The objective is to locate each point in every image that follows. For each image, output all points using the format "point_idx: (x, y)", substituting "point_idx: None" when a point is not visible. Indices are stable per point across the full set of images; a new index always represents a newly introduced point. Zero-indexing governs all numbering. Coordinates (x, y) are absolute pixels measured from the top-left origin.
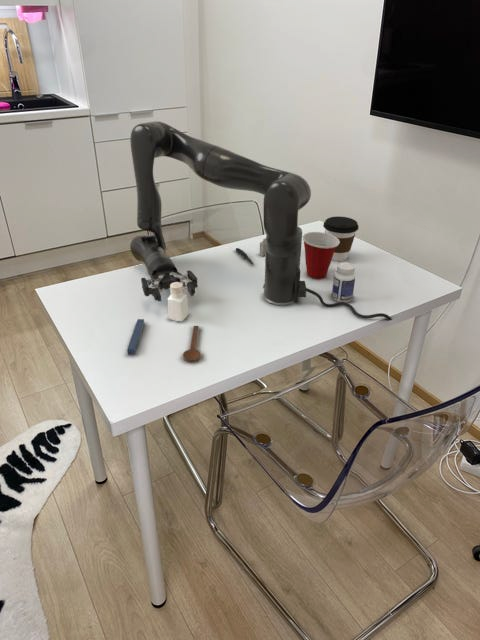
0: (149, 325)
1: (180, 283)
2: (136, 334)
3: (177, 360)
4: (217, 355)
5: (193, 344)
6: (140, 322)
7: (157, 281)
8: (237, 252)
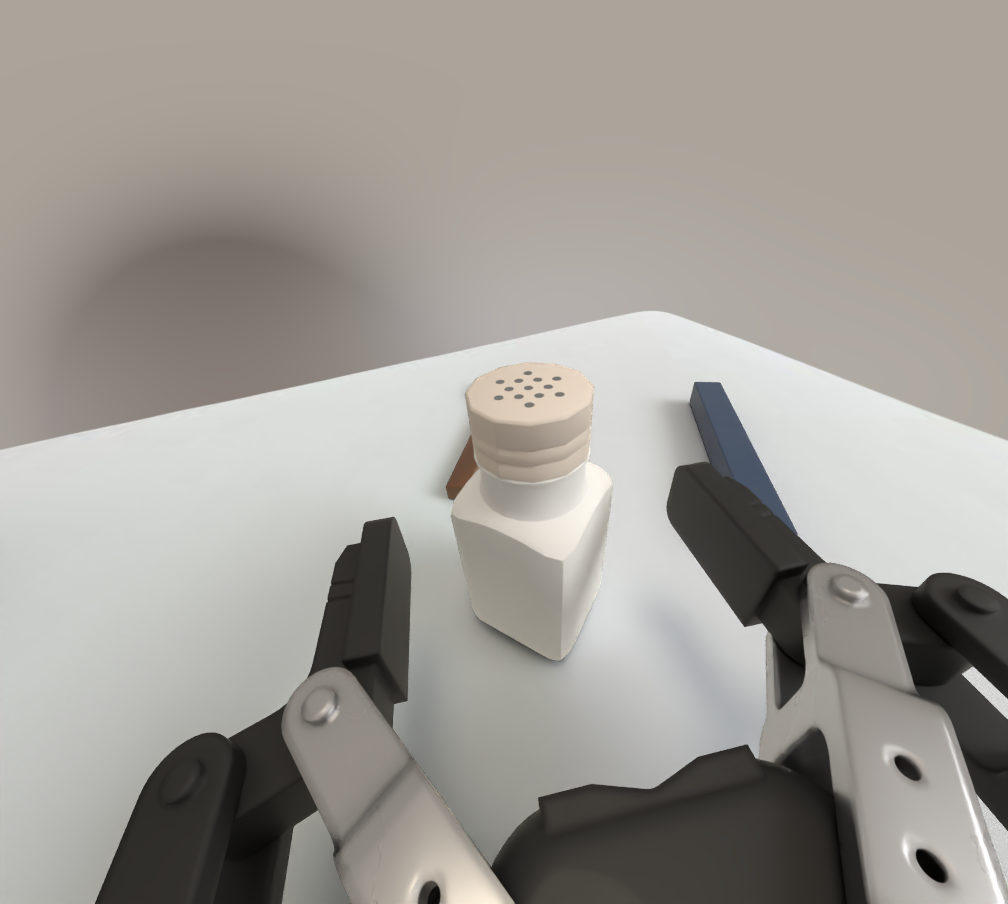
0: None
1: (485, 401)
2: (726, 432)
3: None
4: (431, 396)
5: None
6: None
7: (873, 687)
8: None
